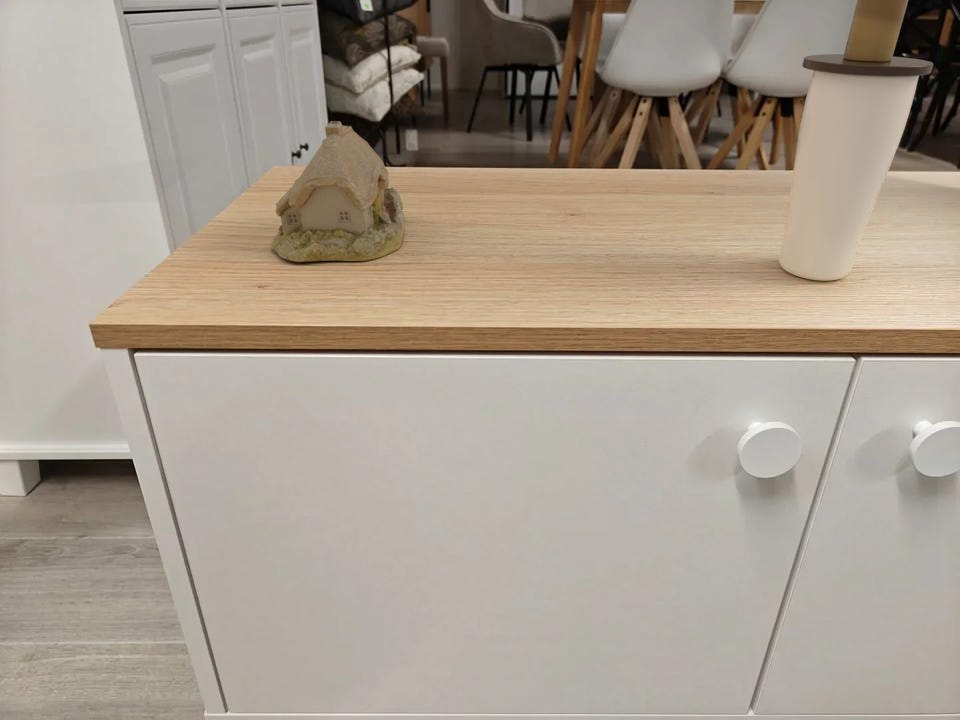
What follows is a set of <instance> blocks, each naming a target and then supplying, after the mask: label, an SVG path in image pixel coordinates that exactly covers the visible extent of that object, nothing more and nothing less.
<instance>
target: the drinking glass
mask: <svg viewBox="0 0 960 720" xmlns="http://www.w3.org/2000/svg"><path fill="white" fill-rule="evenodd" d="M919 78H920V76H864V75H849V74H838V73H828V72H821V71H815V70H812V75H811V79H810V82H809V85H808V89H807V92H806V97H805V100H804V104H803V109H802V113H801V118H800V122H799V123H800V124H799V129H798V134H797V141H796V148H795V155H794V162H793V169H792V177H791V184H790V190H789V198H788V205H787V211H786V212H787V213H786V219H785V224H784V225H785V226H784V232H783V237H782V242H781V247H780V251H779V254H778V255H779V256H778V263H779V265H780V267H781V268H782V269H783V270H784V271H785V272H786V273H788V274H790V275H793V276H796V277H799V278H802V279H807V280H812V281H820V282H821V281H825V282H826V281H827V282H828V281H836V280H840V279H843V278H845V277H846V276H847V275H849V274H850V272H851V270H852V268H853V265H854V261H855V259H856V255H857V252H858V248H859V245H860V243H861V241H862V238H863V236H864V232H865V230H866V228H867V225H868V222H869V220H870V218H871V215H872V212H873V210H874V208H875V205H876V203H877V200H878V198H879V195H880V193H881V190H882V187H883V185H884V183H885V180H886V177H887V175H888V173H889V170H890V168H891V165H892V163H893V160H894V159H895V155H896V153H897V150H898V148H899V145H900V142H901V140H902V138H903V134H904V131H905V128H906V125H907V122H908V120H909V116H910V112H911V110H912V109H911V108H912V105H913V103H914V98H915V94H916V90H917V86H918V82H919Z"/></svg>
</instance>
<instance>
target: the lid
mask: <svg viewBox="0 0 960 720" xmlns="http://www.w3.org/2000/svg"><path fill="white" fill-rule="evenodd" d="M908 3H909V0H856V4H855V9H854V11H853V17H852V20H851V23H850V28H849V33H848V36H847V41H846V45H845V49H844V51H843V53H840V54H837V53H831V54H828V53H825V54H811V55H806V56H804V57H803V60H802V68H804V69H806V70H810V71H813V70H815V71H821V72H828V73H838V74H849V75H864V76H919V77H920V76H927V75H930V74H931V73H932V70H933V67H934V63H933V62H932V61H928V60H924V59H918V58H911V57H902V56H894V53H895V50H896V46H897V42H898V39H899V36H900V31H901V28H902V24H903V21H904V17H905V14H906V10H907V7H908Z"/></svg>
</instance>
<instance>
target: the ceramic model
mask: <svg viewBox="0 0 960 720" xmlns="http://www.w3.org/2000/svg"><path fill="white" fill-rule="evenodd" d="M324 130H325V136H326V138H324V139H322V140H321V145H320V146H319V148H318V149H317V150H316V152H315V154H314V156H313V157H312V158H311V159H310V161H309V162H308V164H307V165H306V166H305V168H304V170H303V171H302V173H301V175H300V176H299V177H298V178H296V179H295V180H294V183H293V185H292V186H291V187H290V188H289V189H288V190H287V192H285V194H284V195H283V196H281V198H280V199H279V200H278V201H277V202H276V204H275V214H276V215H277V216H278V217H280V222H281V224H280V226H279V227H278V232H277V234H276V235H275V237H274V238H273V240H272V242H271V245H270V246H271V249H272V250H274V252H275V253H277V255H278V256H279V257H280V258H282V259H285V260H287V261H291V262H295V263H305V262H307V263H308V262H320V261H322V262H324V261H327V262H328V261H339V262H340V261H342V262H359V261H360V262H364V261H365V262H366V261H371V260H374V259H375V260H376V259H379V258H382V257H385V256H386V255H389V254H392V253H394V252H396V251H398V249H400V248H401V246H402V243H403V239H404V234H405V230H406V229H405V228H406V227H405V225H406V219H405V213H404V211H403V210H404V207H403V202H402V198H401V195H400V193H399V192H398V191H397V189H396V188H394V187H391V188H389V186H390V180H389V171H388V169H387V167H386V166H385V164H384V161H383V159H382V158H381V157H380V156H379V155H378V154H377V153H376V151H375V150H374V149H373V148H372V147H371V145H370V143H368V141H367V140H365V139H364V138H362V137H361V136H360V135H359V134H358V133H357V132H356V131H354V129H353V127H352V126H351V125H343V124H342V122H341V121H338V120H337V121H336V120H331V121H330V122H328V123H327V124H326V125H325V127H324Z"/></svg>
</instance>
